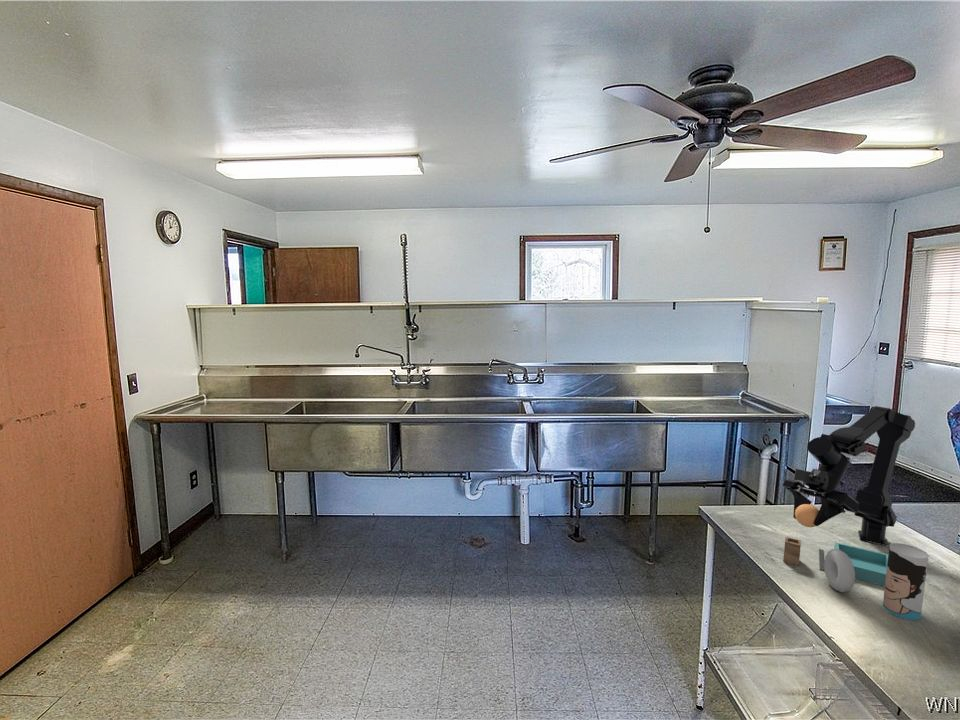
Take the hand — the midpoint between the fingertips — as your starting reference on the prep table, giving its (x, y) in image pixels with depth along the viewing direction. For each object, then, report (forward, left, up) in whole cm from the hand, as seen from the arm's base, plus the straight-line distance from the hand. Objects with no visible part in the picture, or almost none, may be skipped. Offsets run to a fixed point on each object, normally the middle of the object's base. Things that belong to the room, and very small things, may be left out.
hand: (804, 521), depth 129 cm
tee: (-1, -2, -13) cm, 13 cm away
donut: (+8, +8, -13) cm, 17 cm away
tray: (-7, +14, -13) cm, 20 cm away
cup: (+10, +20, -13) cm, 25 cm away
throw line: (-7, +5, -13) cm, 15 cm away
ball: (-1, +1, +1) cm, 2 cm away
